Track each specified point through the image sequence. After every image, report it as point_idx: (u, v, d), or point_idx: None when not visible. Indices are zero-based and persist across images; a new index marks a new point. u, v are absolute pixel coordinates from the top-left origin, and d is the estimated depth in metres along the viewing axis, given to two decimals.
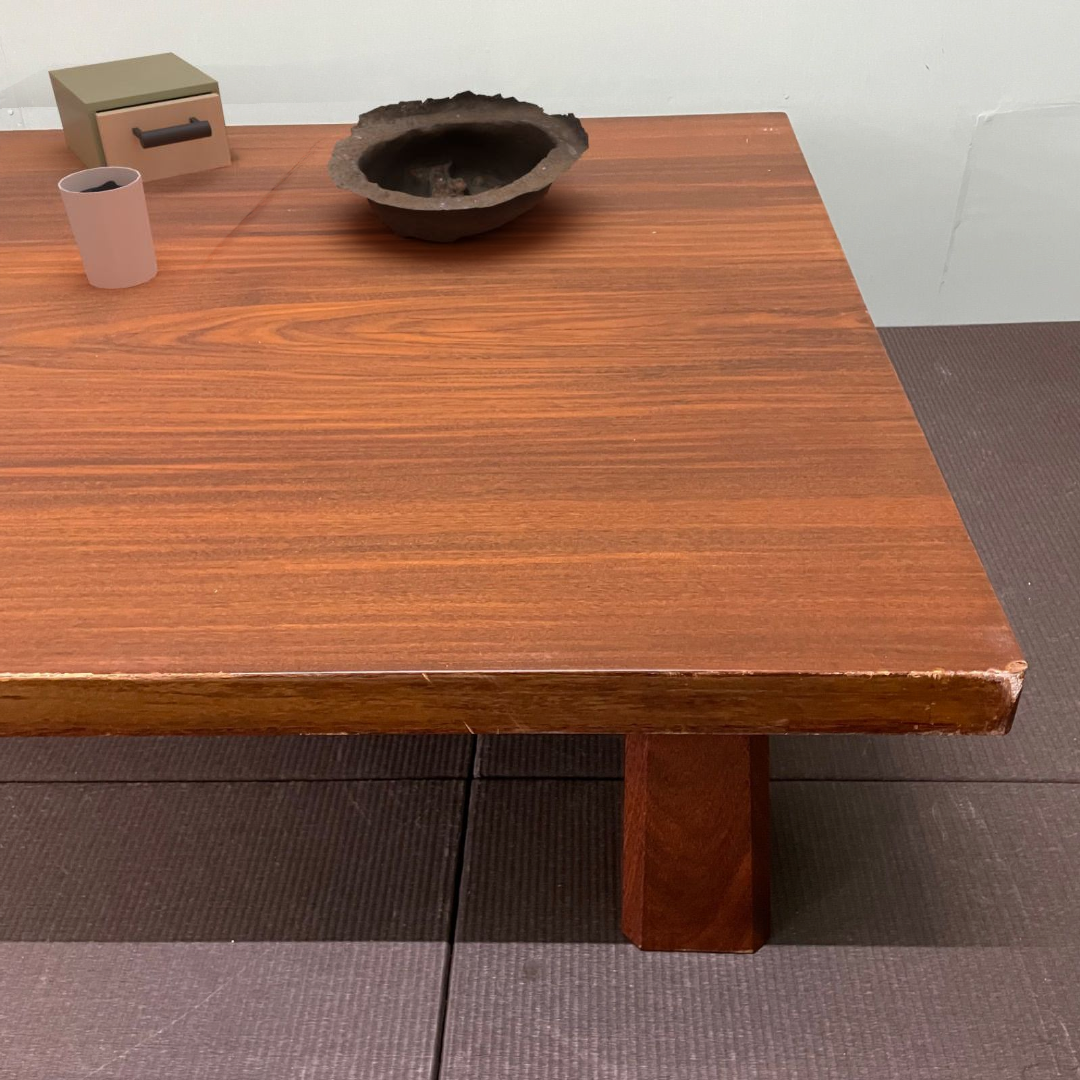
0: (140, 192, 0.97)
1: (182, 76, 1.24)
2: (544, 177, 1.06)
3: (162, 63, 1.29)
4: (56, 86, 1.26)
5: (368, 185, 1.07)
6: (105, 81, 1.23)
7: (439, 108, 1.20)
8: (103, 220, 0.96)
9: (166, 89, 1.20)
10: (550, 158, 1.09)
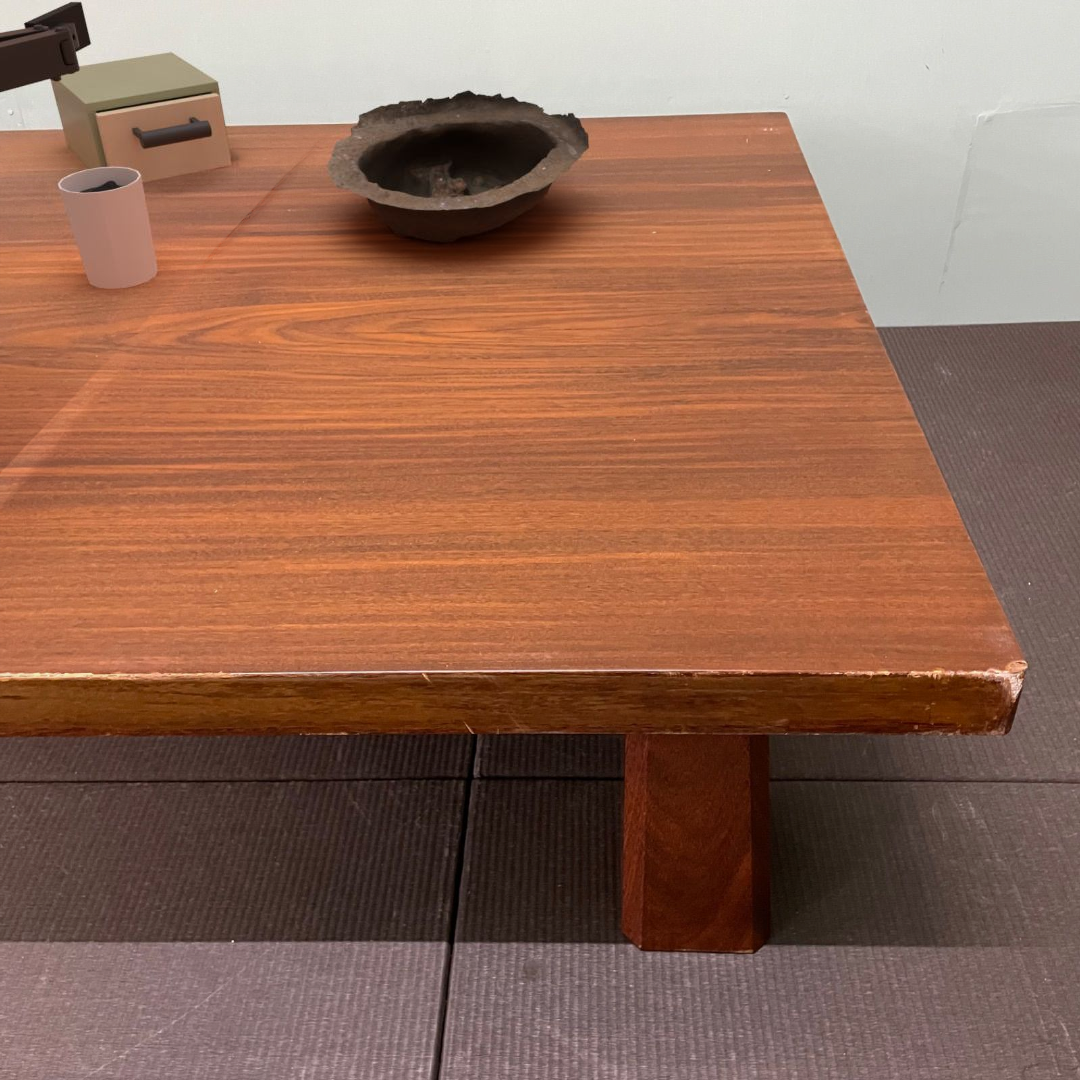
0: (140, 192, 0.97)
1: (182, 76, 1.24)
2: (544, 177, 1.06)
3: (162, 63, 1.29)
4: (56, 86, 1.26)
5: (368, 185, 1.07)
6: (105, 81, 1.23)
7: (439, 108, 1.20)
8: (103, 220, 0.96)
9: (166, 89, 1.20)
10: (550, 158, 1.09)
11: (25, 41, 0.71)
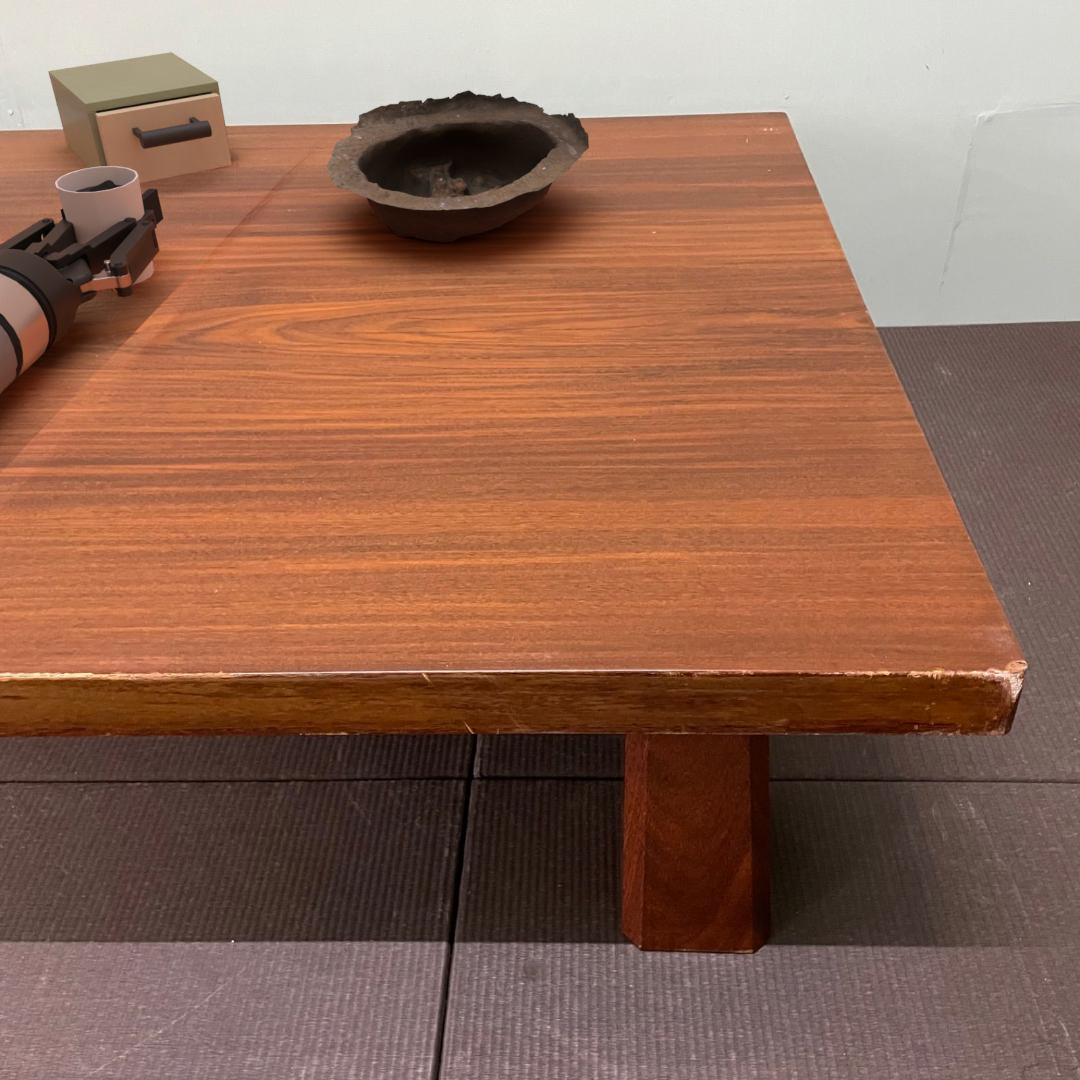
0: (137, 193, 0.97)
1: (182, 76, 1.24)
2: (544, 177, 1.06)
3: (162, 63, 1.29)
4: (56, 86, 1.26)
5: (368, 185, 1.07)
6: (105, 81, 1.23)
7: (439, 108, 1.20)
8: (98, 220, 0.96)
9: (166, 89, 1.20)
10: (550, 158, 1.09)
11: (140, 236, 0.94)
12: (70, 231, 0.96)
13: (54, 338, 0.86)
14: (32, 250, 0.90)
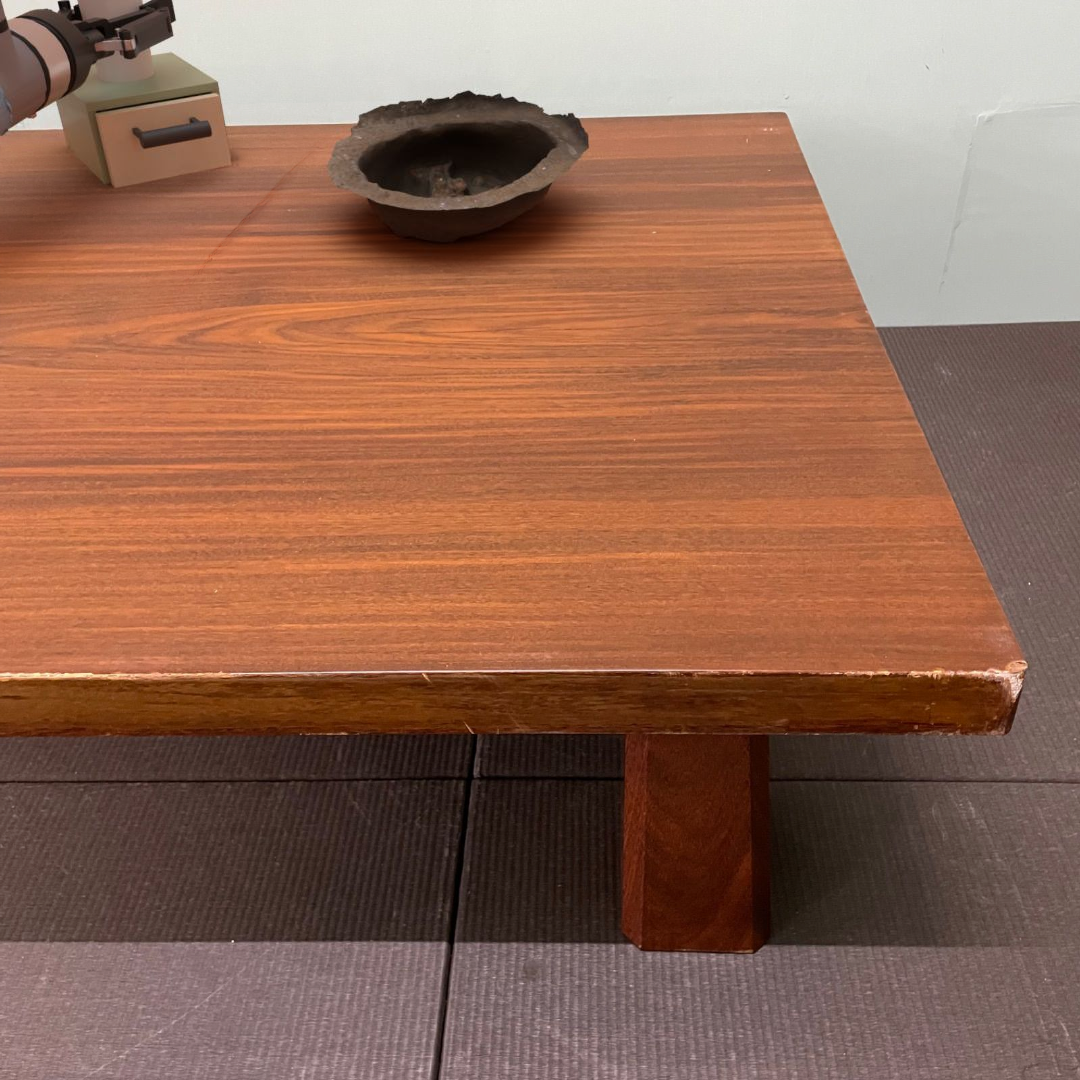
0: None
1: (182, 76, 1.24)
2: (544, 177, 1.06)
3: (162, 63, 1.29)
4: None
5: (368, 185, 1.07)
6: None
7: (439, 108, 1.20)
8: (105, 5, 1.18)
9: (166, 89, 1.20)
10: (550, 158, 1.09)
11: (153, 17, 1.15)
12: (70, 16, 1.18)
13: (74, 81, 1.08)
14: None
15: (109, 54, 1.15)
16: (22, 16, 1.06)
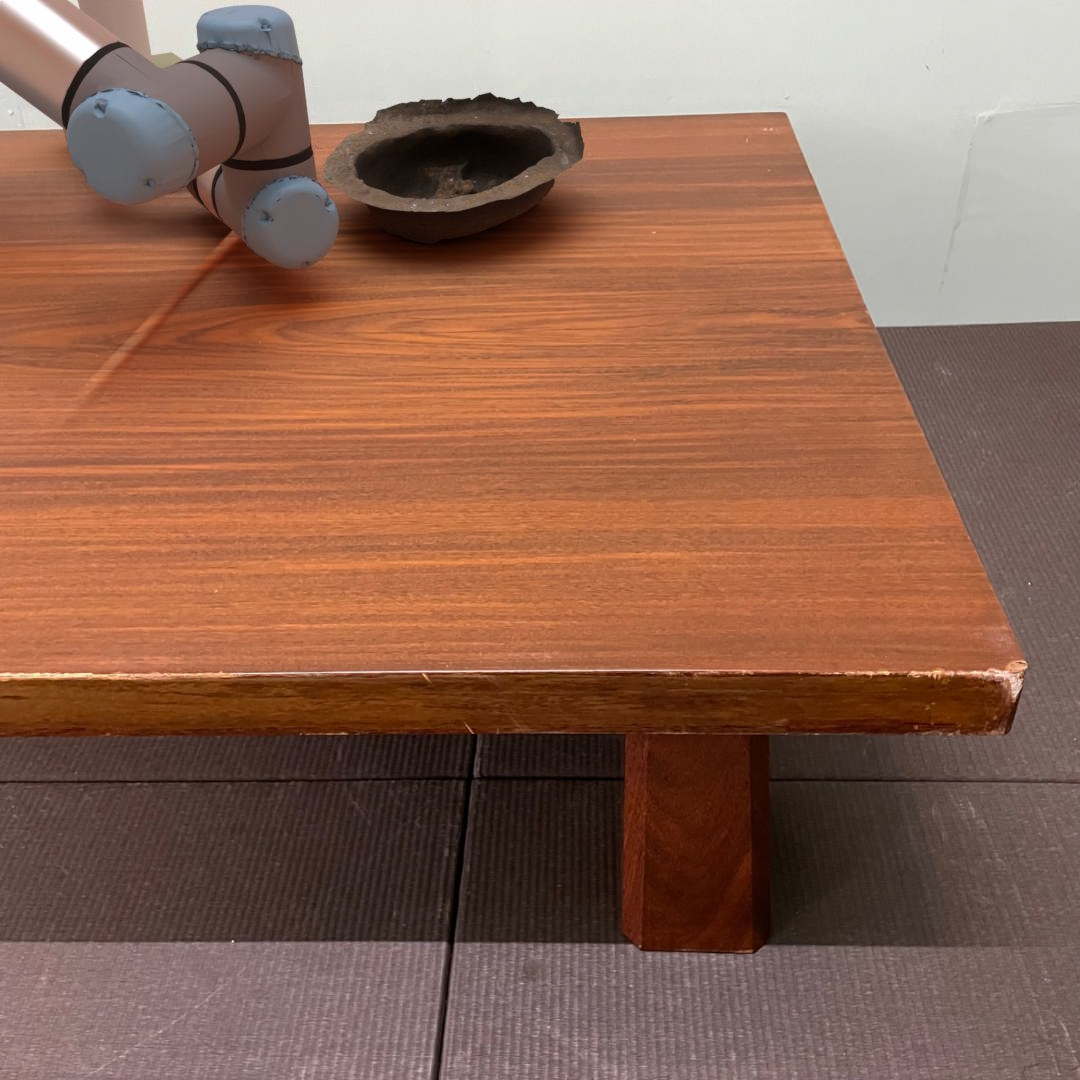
0: None
1: None
2: (522, 186, 1.04)
3: (162, 63, 1.29)
4: None
5: (353, 181, 1.08)
6: None
7: (460, 108, 1.20)
8: (105, 5, 1.18)
9: None
10: (537, 167, 1.07)
11: None
12: None
13: None
14: None
15: None
16: None
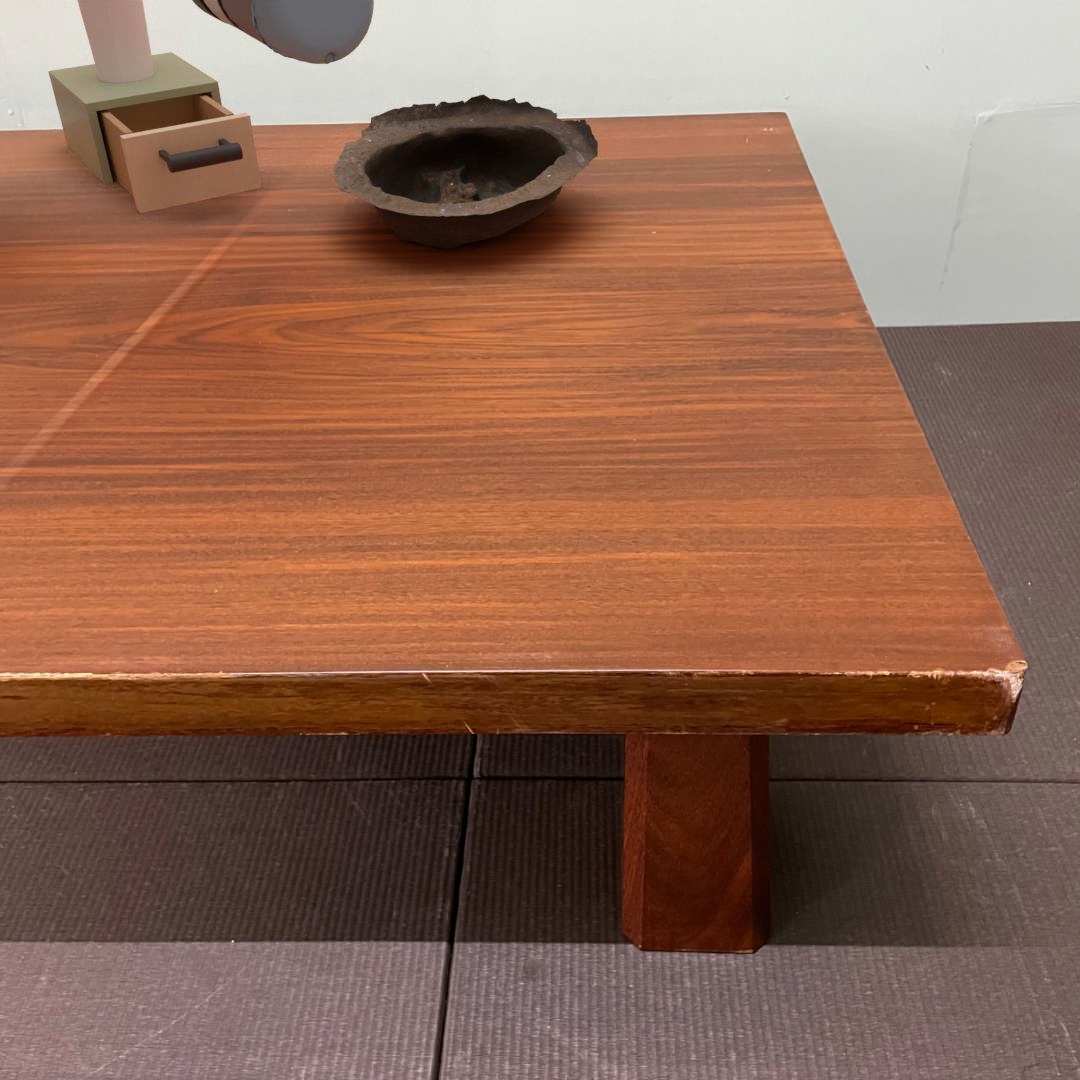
0: None
1: (182, 76, 1.24)
2: (548, 185, 1.04)
3: (162, 63, 1.29)
4: (56, 86, 1.26)
5: (371, 189, 1.06)
6: None
7: (453, 111, 1.19)
8: (105, 5, 1.18)
9: (166, 89, 1.20)
10: (557, 166, 1.07)
11: None
12: None
13: None
14: None
15: None
16: None
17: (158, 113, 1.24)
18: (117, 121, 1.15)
